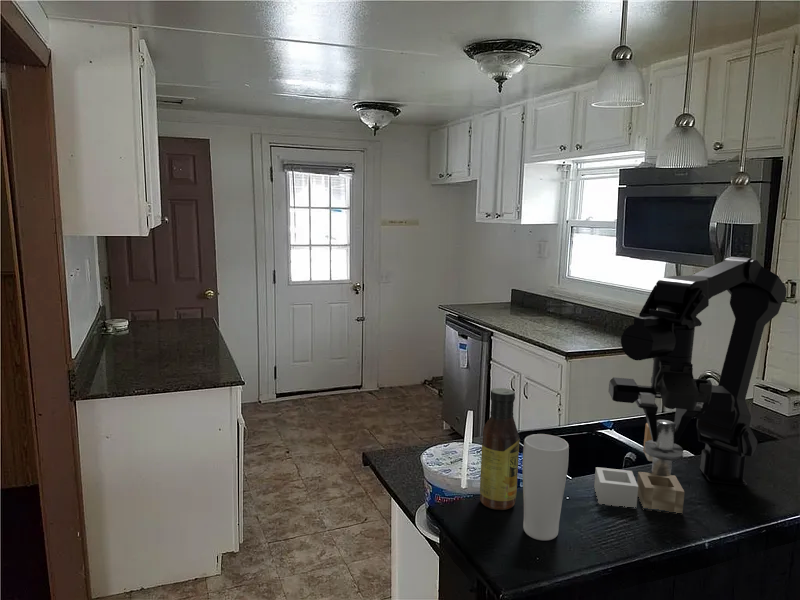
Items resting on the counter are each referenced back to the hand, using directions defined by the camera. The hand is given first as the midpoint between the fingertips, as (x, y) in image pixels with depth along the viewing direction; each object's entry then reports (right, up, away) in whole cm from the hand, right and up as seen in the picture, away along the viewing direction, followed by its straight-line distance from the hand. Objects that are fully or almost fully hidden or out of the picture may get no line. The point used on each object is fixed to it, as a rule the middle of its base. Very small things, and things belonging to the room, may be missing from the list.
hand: (664, 441), depth 99 cm
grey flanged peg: (0, -6, +1) cm, 6 cm away
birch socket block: (0, -11, +2) cm, 11 cm away
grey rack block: (-7, -11, +3) cm, 13 cm away
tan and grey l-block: (+1, -5, +8) cm, 9 cm away
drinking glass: (-23, -12, -9) cm, 28 cm away
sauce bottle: (-29, -11, 0) cm, 31 cm away
